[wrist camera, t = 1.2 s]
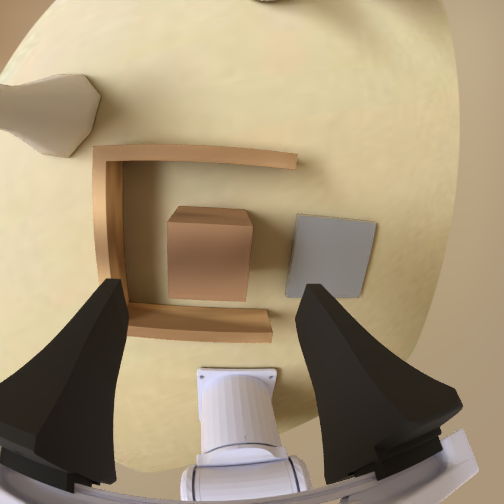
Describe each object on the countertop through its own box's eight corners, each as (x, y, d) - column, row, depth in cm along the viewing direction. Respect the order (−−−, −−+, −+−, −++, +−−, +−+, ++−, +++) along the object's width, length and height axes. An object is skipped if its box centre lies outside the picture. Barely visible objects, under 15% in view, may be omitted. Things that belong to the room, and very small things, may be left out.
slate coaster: (356, 294, 25) (359, 297, 24) (285, 294, 24) (286, 297, 23) (373, 221, 22) (376, 223, 22) (297, 213, 21) (299, 215, 21)
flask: (58, 63, 14) (-15, 33, 5) (117, 91, 17) (47, 56, 7) (20, 137, 16) (-61, 145, 7) (72, 172, 18) (-10, 194, 9)
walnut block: (240, 270, 23) (245, 301, 18) (178, 267, 22) (168, 298, 17) (245, 209, 21) (253, 226, 16) (179, 205, 20) (167, 222, 16)
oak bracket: (264, 318, 24) (271, 342, 21) (120, 310, 23) (108, 333, 19) (284, 153, 20) (297, 154, 16) (112, 146, 18) (93, 146, 15)
